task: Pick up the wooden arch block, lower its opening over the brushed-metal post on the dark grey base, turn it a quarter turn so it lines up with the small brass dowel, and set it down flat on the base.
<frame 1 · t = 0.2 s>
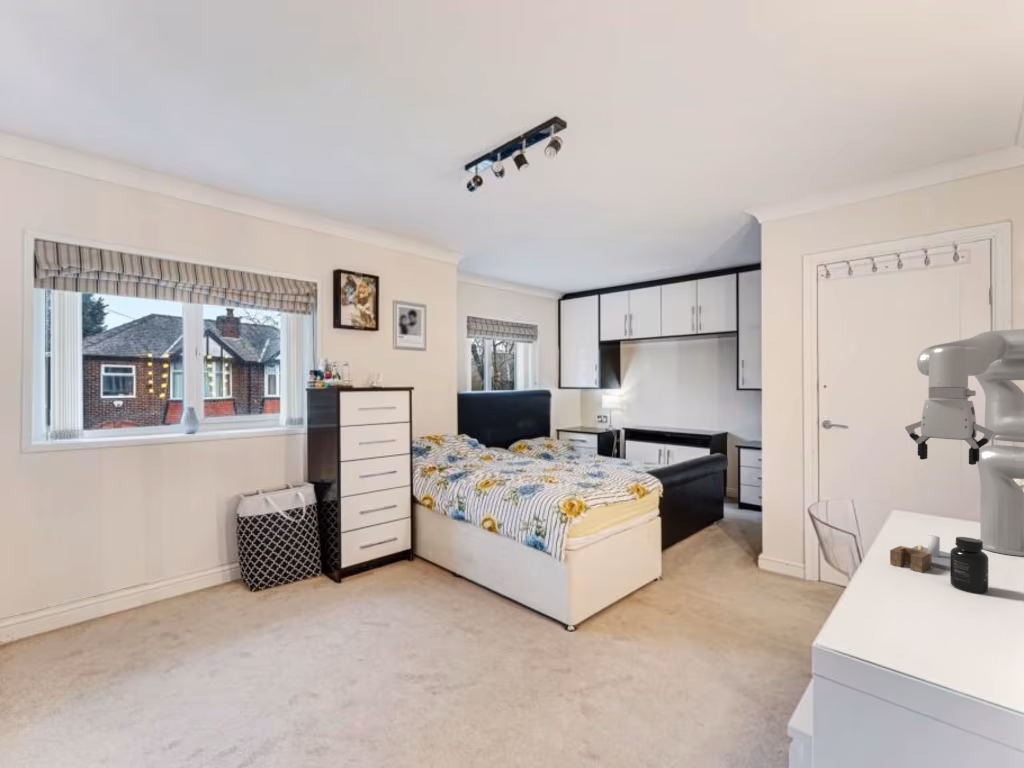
hand: (947, 461, 124), 30 cm above the table, fingers open, 9 cm apart
supplement bottle: (968, 589, 119), on the table
wooden arch block: (910, 565, 133), on the table
post base: (933, 559, 138), on the table
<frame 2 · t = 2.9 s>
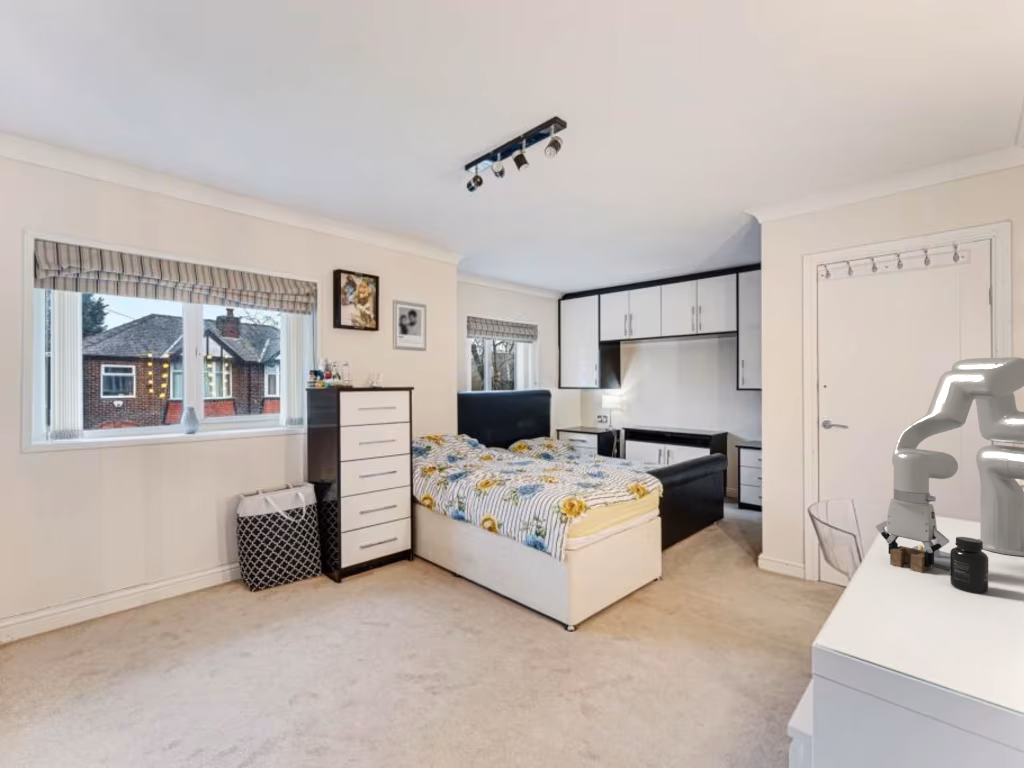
hand: (910, 561, 133), 1 cm above the table, fingers closed on wooden arch block, 7 cm apart
wooden arch block: (910, 565, 133), on the table, touching gripper
everything else where it was.
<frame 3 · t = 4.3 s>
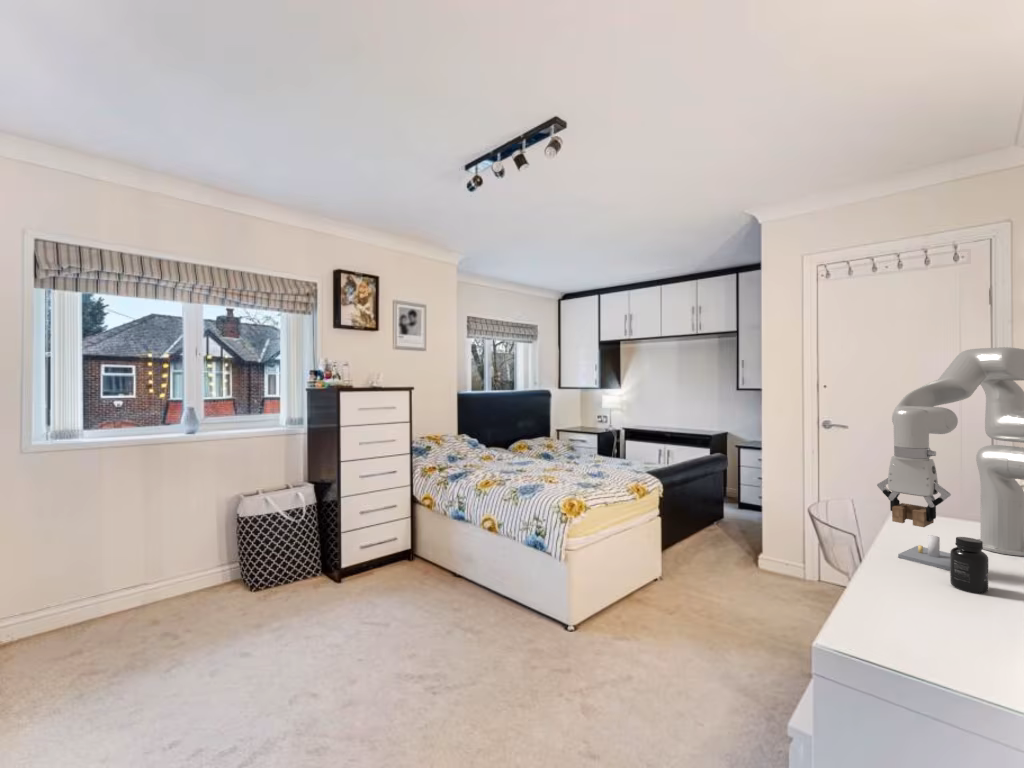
hand: (912, 517, 134), 13 cm above the table, fingers closed on wooden arch block, 7 cm apart
wooden arch block: (912, 521, 134), point 12 cm above the table, touching gripper
everything else where it was.
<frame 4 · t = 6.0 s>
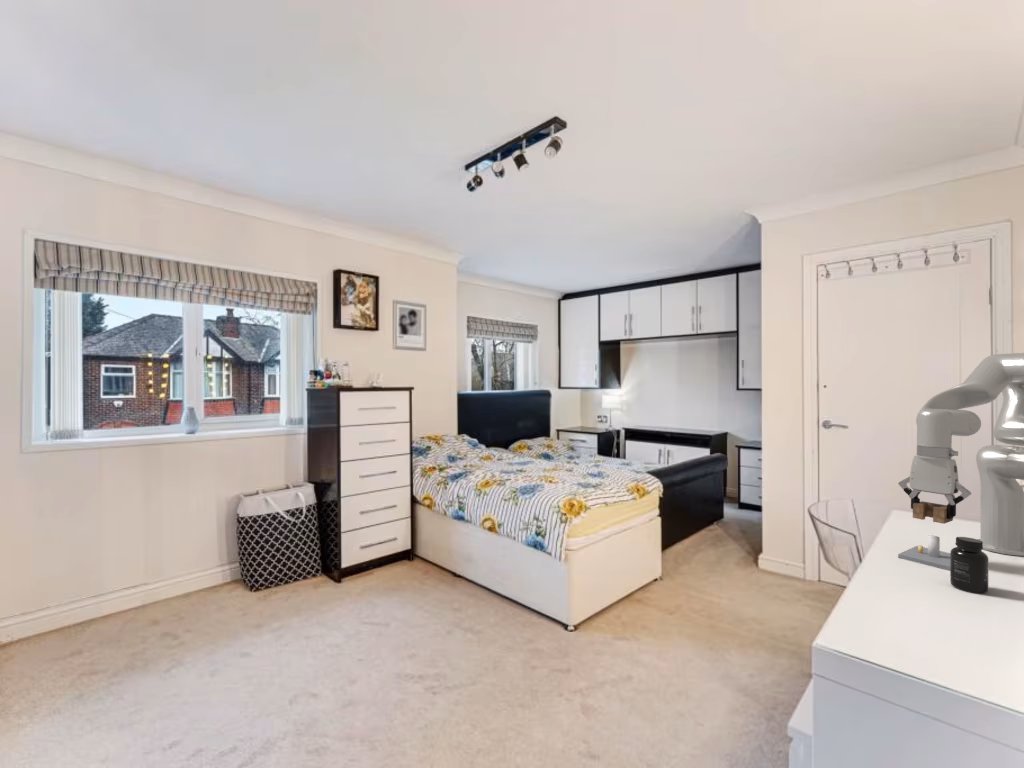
hand: (932, 514, 138), 13 cm above the table, fingers closed on wooden arch block, 7 cm apart
wooden arch block: (932, 519, 138), point 12 cm above the table, touching gripper
everything else where it was.
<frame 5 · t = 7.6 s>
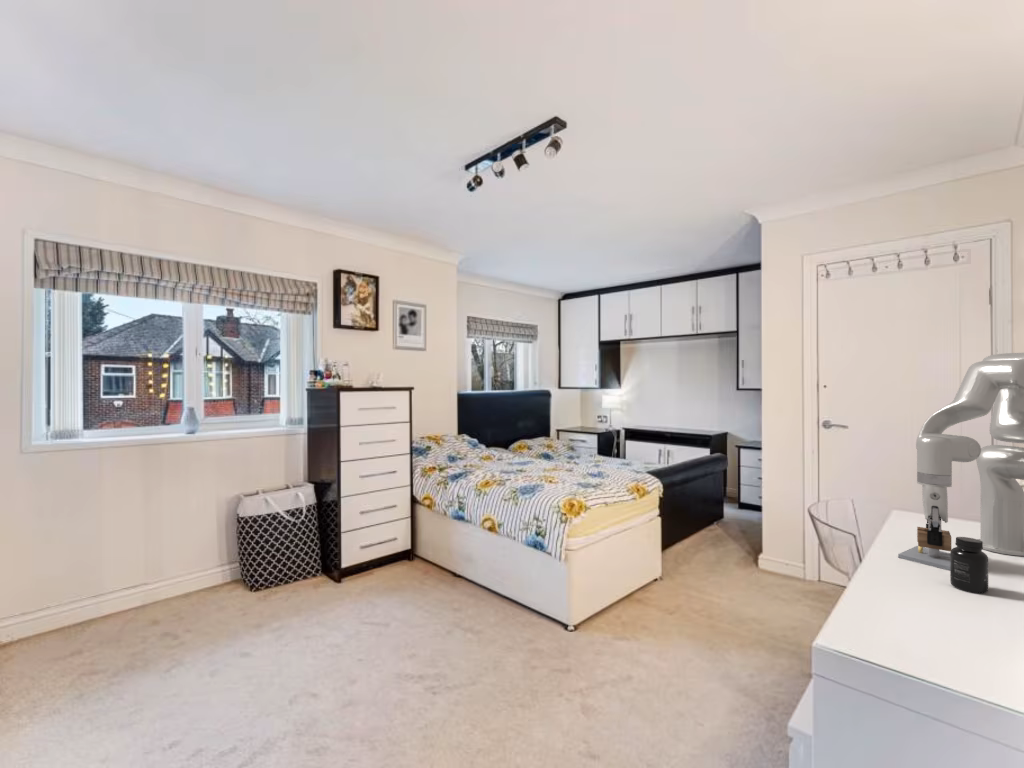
hand: (933, 541, 138), 5 cm above the table, fingers closed on wooden arch block, 7 cm apart
wooden arch block: (933, 545, 139), point 4 cm above the table, touching gripper
everything else where it was.
when the fingers open (3 cm above the table, at t = 9.0 s): wooden arch block stays where it is, resting on post base.
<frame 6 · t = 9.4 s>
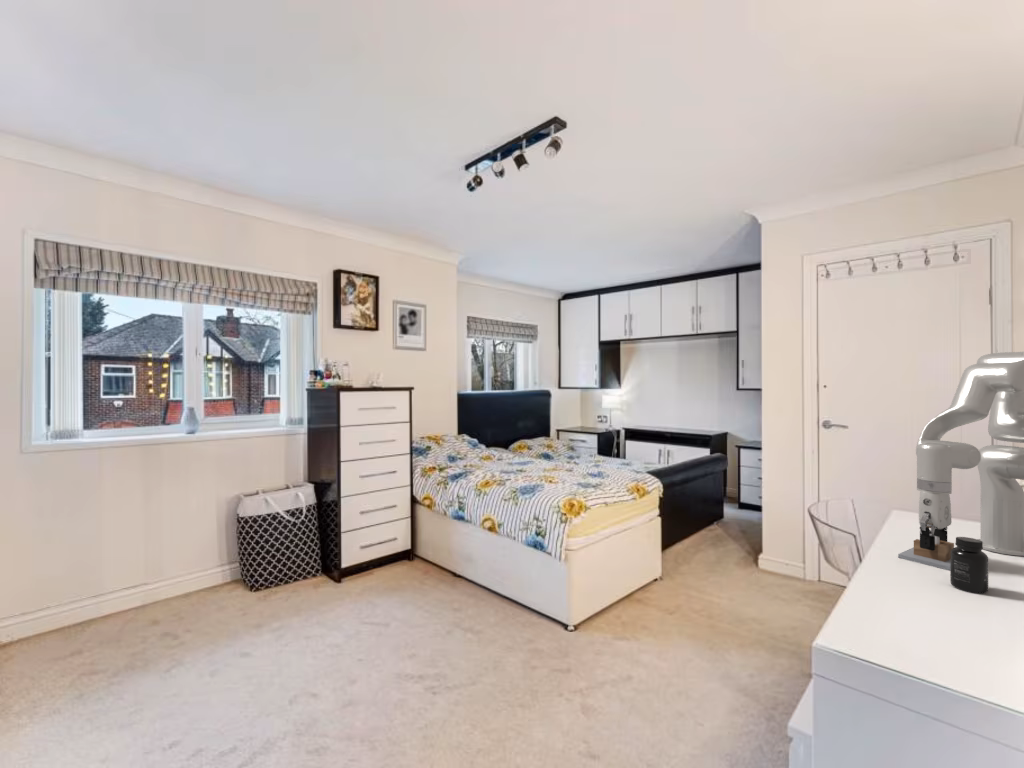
hand: (933, 546, 138), 4 cm above the table, fingers open, 9 cm apart
wooden arch block: (933, 555, 139), point 1 cm above the table, touching post base
everything else where it was.
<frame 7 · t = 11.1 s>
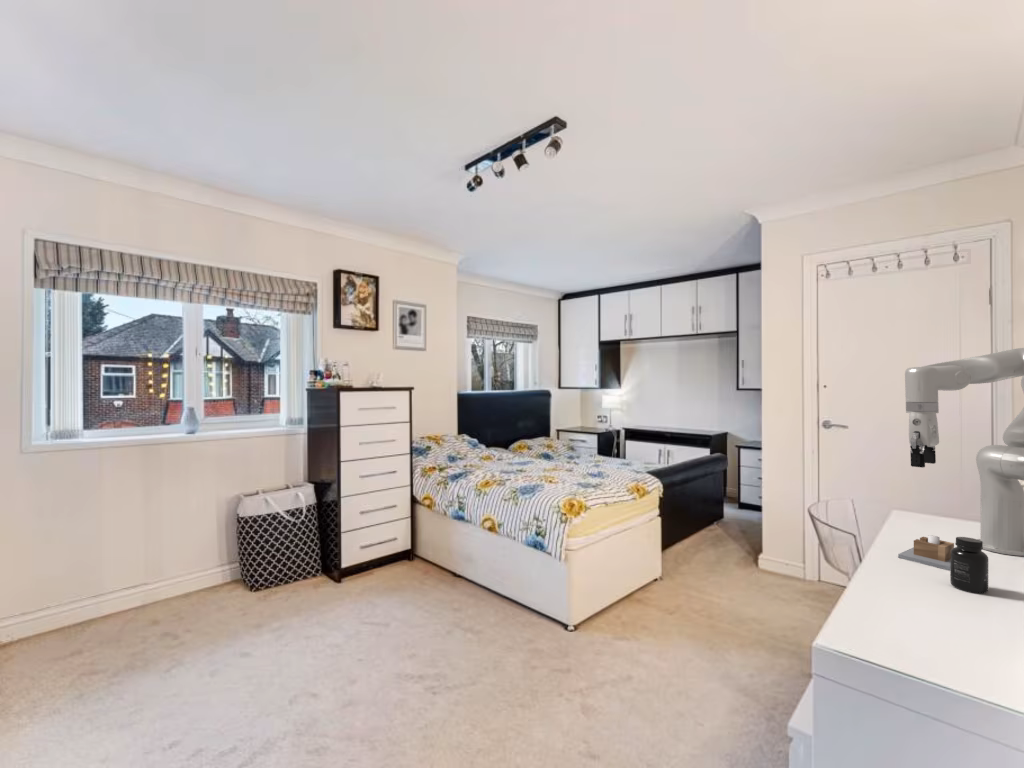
hand: (923, 464, 145), 26 cm above the table, fingers open, 9 cm apart
nothing on the table moved.
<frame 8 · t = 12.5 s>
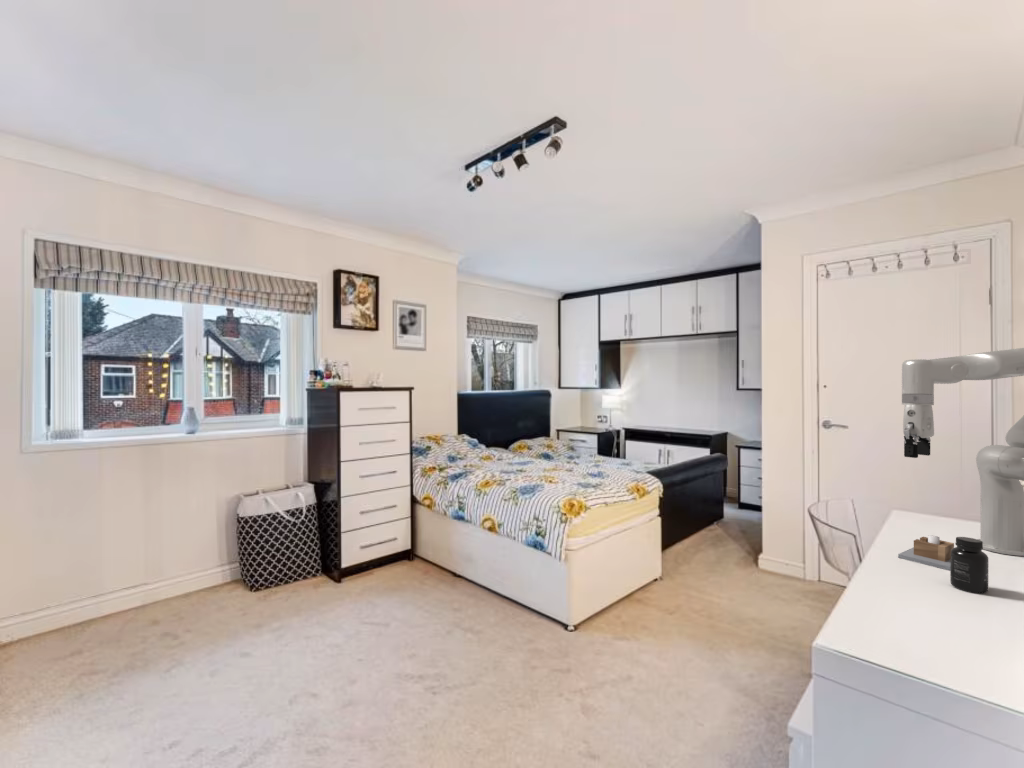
hand: (917, 456, 147), 28 cm above the table, fingers open, 9 cm apart
nothing on the table moved.
at the end: wooden arch block 0.1 cm off-centre on the post base, point 1.0 cm above the post base's base; wooden arch block tilted 0°; the gripper is holding nothing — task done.
